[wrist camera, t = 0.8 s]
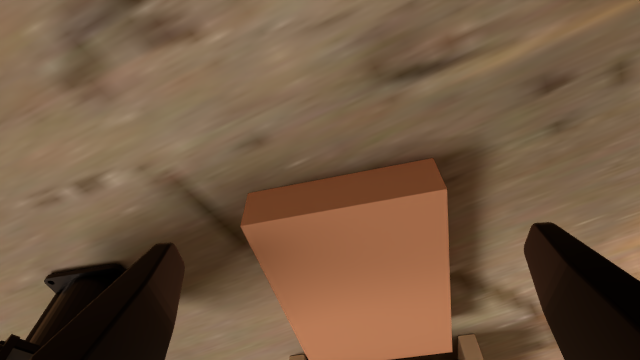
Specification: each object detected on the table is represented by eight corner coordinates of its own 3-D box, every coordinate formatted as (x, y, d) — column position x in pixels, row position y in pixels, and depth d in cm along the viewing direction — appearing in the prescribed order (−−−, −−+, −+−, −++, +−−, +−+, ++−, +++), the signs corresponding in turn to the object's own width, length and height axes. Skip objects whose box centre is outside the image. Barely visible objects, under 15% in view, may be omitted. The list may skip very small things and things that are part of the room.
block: (313, 331, 35) (313, 369, 32) (248, 189, 25) (240, 226, 22) (440, 314, 34) (452, 352, 31) (431, 153, 23) (446, 188, 20)
